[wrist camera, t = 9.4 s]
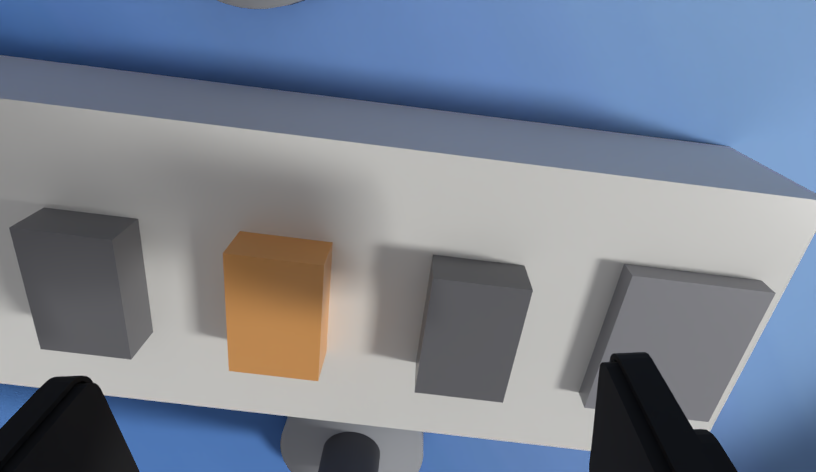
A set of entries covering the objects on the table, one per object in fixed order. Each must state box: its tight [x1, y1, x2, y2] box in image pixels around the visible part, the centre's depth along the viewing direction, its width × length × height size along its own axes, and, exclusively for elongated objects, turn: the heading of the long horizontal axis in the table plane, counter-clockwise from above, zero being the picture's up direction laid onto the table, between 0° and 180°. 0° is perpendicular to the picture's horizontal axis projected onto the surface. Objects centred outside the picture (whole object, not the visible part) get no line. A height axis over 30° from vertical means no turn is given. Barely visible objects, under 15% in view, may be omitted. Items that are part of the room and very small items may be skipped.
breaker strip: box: [0, 55, 816, 451], centre depth 16 cm, size 9×26×6 cm, turn 83°
